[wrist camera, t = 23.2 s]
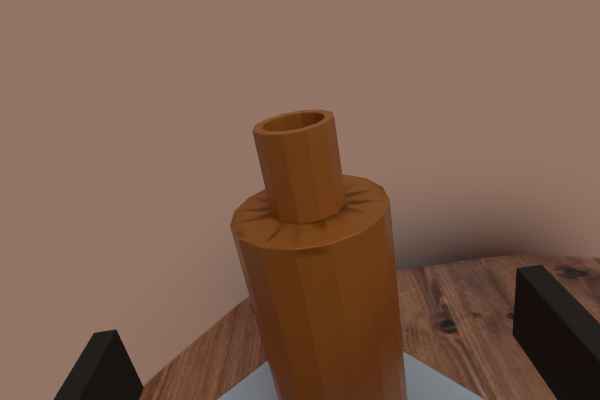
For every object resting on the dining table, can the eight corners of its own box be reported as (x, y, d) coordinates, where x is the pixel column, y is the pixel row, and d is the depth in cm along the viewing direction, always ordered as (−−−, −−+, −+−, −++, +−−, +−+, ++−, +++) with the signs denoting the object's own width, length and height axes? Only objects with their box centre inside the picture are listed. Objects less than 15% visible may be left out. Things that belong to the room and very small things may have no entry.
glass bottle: (286, 481, 22) (190, 164, 14) (287, 371, 28) (222, 115, 21) (423, 464, 21) (399, 129, 14) (392, 357, 28) (364, 90, 20)
